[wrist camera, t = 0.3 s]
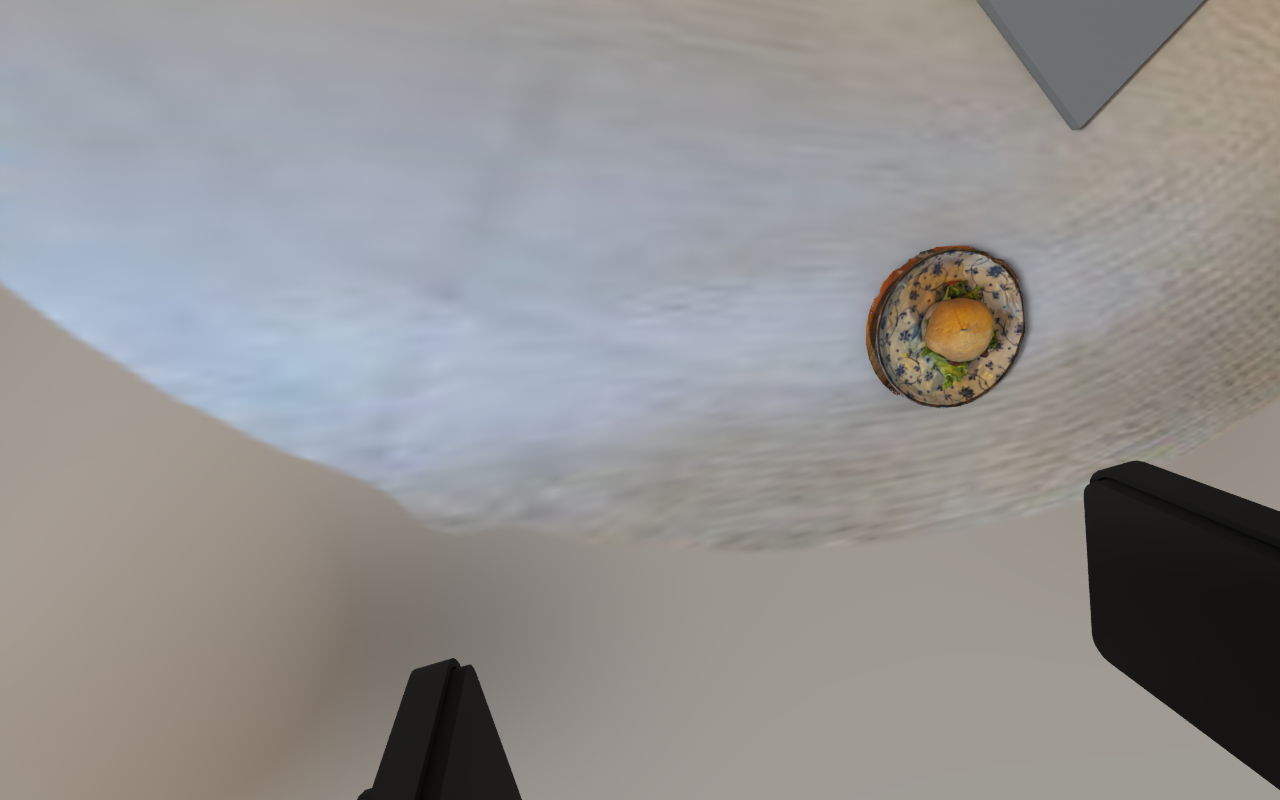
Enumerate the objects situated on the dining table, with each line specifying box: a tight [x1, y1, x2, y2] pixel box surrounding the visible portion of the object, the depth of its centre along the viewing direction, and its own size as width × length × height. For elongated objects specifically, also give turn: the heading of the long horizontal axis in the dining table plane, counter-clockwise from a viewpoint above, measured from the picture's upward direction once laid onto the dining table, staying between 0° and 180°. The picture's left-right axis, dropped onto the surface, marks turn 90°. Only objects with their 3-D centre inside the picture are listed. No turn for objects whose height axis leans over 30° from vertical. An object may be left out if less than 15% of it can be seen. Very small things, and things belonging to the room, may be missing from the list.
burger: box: [866, 246, 1025, 408], centre depth 45 cm, size 12×12×8 cm
